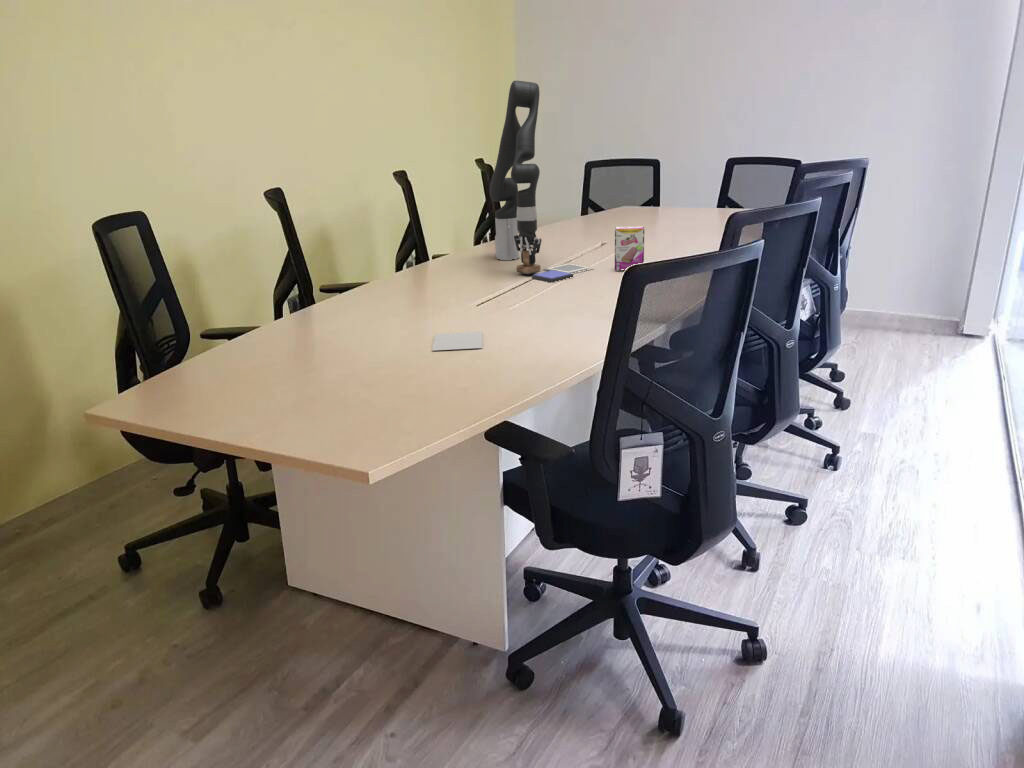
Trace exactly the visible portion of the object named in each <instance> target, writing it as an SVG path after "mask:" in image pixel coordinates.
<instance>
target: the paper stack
mask: <svg viewBox="0 0 1024 768" xmlns="http://www.w3.org/2000/svg"><path fill="white" fill-rule="evenodd" d="M470 349H471V350H472V349H483V331H468V332H467V331H464V332H463V331H462V332H449V333H448V332H446V333H443V332H442V333H435V334H434V338H433V344H432V349H431V351H447V350H448V351H449V350H470Z"/></svg>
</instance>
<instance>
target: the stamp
mask: <svg viewBox="0 0 1024 768" xmlns="http://www.w3.org/2000/svg"><path fill="white" fill-rule="evenodd" d="M529 255H530V254H529V250H528V249H527V250H525V251H523V263H522V264H517V265H516V272H517V273H519V274H522V275H523V274H525V275H531V274H538V273H541V265H540V264H536V263H535V264H532V265H530V264H529Z"/></svg>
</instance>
